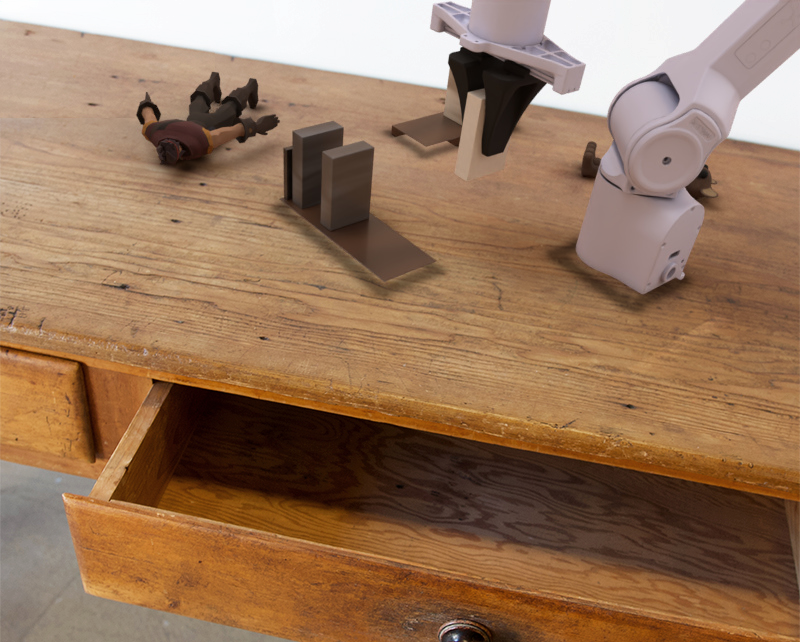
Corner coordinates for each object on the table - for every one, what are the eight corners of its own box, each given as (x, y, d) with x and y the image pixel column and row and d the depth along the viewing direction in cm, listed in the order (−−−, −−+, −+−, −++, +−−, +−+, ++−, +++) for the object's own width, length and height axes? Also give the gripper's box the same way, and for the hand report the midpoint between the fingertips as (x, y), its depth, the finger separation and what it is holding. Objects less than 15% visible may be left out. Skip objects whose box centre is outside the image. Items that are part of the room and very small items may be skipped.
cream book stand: (513, 128, 91) (526, 60, 86) (425, 154, 84) (434, 81, 78) (478, 110, 94) (489, 42, 89) (390, 133, 87) (397, 61, 82)
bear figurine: (597, 113, 89) (727, 128, 86) (590, 148, 92) (717, 165, 89) (573, 178, 76) (726, 199, 73) (567, 217, 79) (713, 239, 76)
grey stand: (435, 270, 68) (448, 187, 62) (383, 291, 65) (391, 206, 59) (329, 192, 76) (332, 113, 70) (278, 207, 73) (277, 126, 67)
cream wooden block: (504, 170, 66) (521, 89, 61) (466, 182, 64) (481, 99, 59) (491, 162, 67) (507, 82, 62) (454, 174, 65) (467, 91, 60)
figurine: (174, 101, 90) (91, 166, 75) (171, 63, 87) (84, 123, 72) (297, 123, 89) (239, 193, 73) (298, 85, 86) (237, 150, 71)
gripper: (410, -57, 56) (392, 122, 66) (555, 5, 49) (512, 197, 58) (478, -63, 60) (451, 107, 69) (623, -6, 53) (571, 176, 62)
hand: (483, 147), depth 64 cm, fingers closed on cream wooden block, 2 cm apart
